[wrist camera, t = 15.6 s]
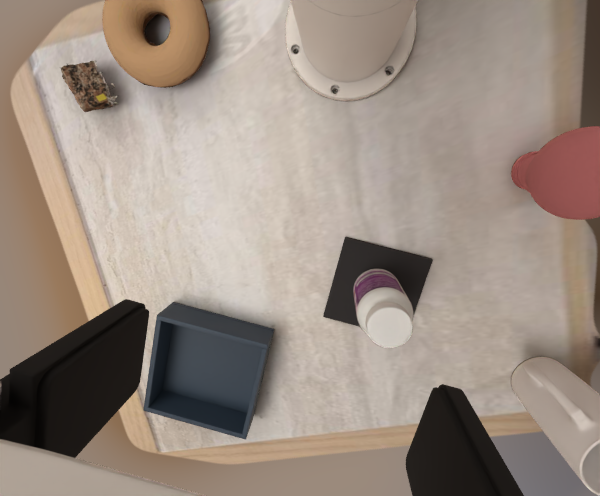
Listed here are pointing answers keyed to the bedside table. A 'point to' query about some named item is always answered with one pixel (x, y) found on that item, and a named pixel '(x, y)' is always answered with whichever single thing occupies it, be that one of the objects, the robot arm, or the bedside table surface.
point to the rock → (88, 86)
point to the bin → (206, 369)
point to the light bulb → (564, 174)
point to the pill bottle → (383, 308)
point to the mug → (563, 413)
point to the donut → (147, 56)
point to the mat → (364, 258)
